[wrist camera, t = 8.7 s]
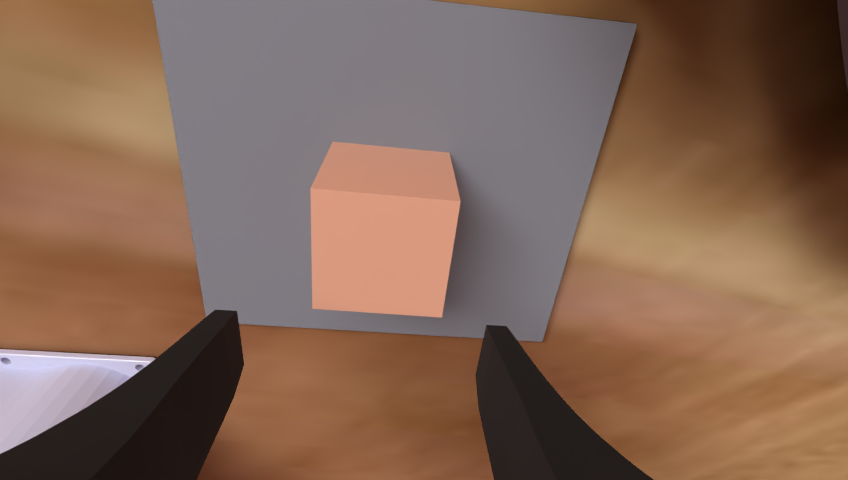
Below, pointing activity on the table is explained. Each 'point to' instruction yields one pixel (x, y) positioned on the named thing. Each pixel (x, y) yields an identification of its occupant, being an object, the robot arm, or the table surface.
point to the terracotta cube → (383, 230)
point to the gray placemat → (387, 142)
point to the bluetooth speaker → (844, 32)
